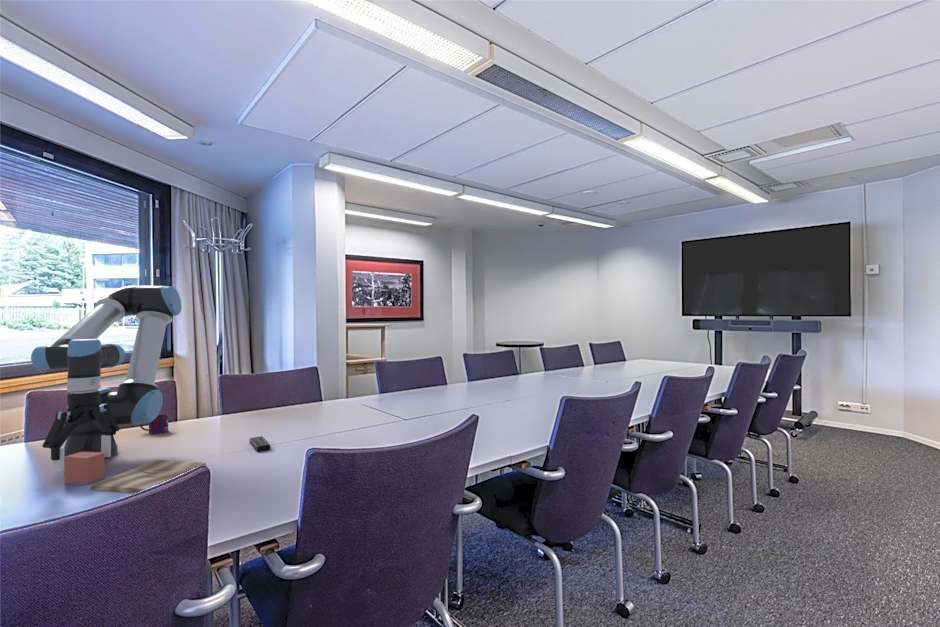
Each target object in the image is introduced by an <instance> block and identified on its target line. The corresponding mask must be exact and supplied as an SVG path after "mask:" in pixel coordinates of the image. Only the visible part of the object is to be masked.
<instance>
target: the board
mask: <svg viewBox="0 0 940 627" xmlns="http://www.w3.org/2000/svg"><path fill="white" fill-rule="evenodd" d="M206 464H207V463H206V462H203V461H202V462H200V461H186V460H185V461H182V460H181V461H179V460H166V459H165V460H163V459H156V460H154V461H151V462H149V463H146V464H143V465H140V466H138V467H136V468H132V469H130V470H127V471H125V472H122V473H119V474H117V475H114V476H112V477H109V478H106V479H104V480H101V481H98V482H96V483H93V484H90V490H95V491H107V492H120V493H122V492H124V493H137V492H140V491H142V490H145V489H147V488H150V487H152V486H154V485H157V484H160V483H162V482H164V481H167V480H169V479H172V478H174V477H176V476H178V475H180V474H182V473H185V472H187V471H189V470H191V469H193V468H196V467H198V466H202V465H206ZM206 466H207V465H206ZM137 494H138V493H137Z"/></svg>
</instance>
